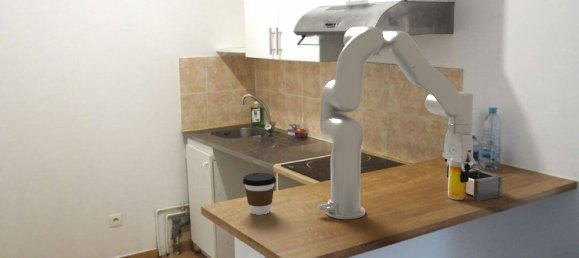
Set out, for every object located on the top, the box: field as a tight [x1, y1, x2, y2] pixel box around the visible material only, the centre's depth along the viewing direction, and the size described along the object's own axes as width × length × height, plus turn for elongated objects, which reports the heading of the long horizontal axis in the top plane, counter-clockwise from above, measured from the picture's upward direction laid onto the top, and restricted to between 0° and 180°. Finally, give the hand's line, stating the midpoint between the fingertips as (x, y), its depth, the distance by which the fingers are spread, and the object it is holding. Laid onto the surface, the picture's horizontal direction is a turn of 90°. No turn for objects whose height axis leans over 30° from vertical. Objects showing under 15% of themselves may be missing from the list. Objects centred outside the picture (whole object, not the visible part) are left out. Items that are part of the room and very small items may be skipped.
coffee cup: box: [242, 172, 277, 216], centre depth 181 cm, size 11×11×12 cm
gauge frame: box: [469, 168, 504, 202], centre depth 196 cm, size 11×12×7 cm
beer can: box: [447, 158, 467, 201], centre depth 191 cm, size 6×6×15 cm
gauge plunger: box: [466, 167, 481, 196], centre depth 196 cm, size 5×10×8 cm, turn 25°
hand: (457, 179), depth 192 cm, fingers closed on beer can, 6 cm apart
